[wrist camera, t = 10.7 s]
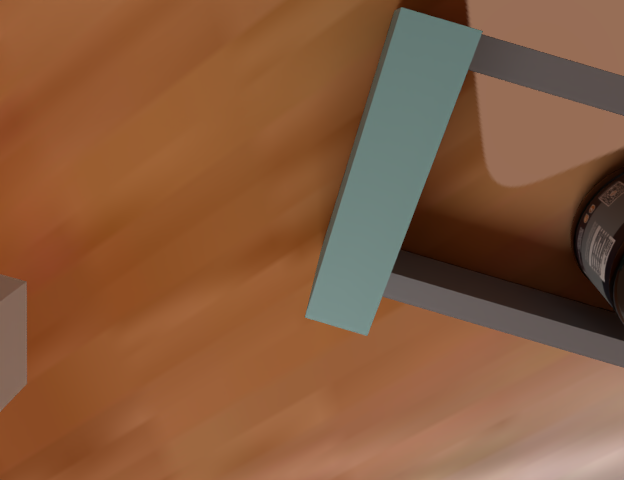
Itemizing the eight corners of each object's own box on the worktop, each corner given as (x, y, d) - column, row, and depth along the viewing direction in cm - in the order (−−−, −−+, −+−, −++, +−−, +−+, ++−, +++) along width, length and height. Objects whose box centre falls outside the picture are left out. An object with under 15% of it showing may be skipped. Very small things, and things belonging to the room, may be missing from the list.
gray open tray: (394, 10, 33) (401, 7, 24) (822, 136, 33) (990, 181, 24) (321, 250, 41) (305, 317, 31) (670, 353, 41) (756, 450, 31)
